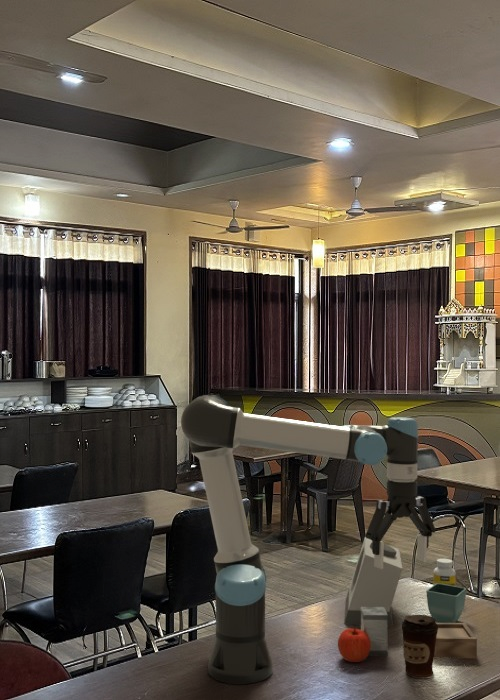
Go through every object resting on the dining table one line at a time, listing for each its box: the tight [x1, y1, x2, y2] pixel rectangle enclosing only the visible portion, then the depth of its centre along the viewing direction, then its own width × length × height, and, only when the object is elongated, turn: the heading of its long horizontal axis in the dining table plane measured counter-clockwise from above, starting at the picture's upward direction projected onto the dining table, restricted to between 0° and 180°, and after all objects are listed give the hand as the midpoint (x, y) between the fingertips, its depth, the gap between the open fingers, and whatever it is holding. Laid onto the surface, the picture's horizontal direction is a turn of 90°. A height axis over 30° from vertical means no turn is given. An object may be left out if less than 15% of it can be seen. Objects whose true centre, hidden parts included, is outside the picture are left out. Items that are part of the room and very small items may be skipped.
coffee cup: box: [401, 614, 438, 679], centre depth 183 cm, size 9×8×13 cm
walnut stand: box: [434, 622, 478, 659], centre depth 198 cm, size 11×11×5 cm
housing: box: [360, 607, 389, 656], centre depth 197 cm, size 6×6×10 cm
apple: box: [337, 626, 371, 663], centre depth 191 cm, size 8×8×8 cm
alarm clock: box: [343, 536, 403, 627], centre depth 225 cm, size 20×16×20 cm
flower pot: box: [426, 583, 467, 623], centre depth 218 cm, size 9×9×9 cm
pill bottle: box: [432, 558, 457, 586], centre depth 237 cm, size 6×6×12 cm
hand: (400, 564), depth 197 cm, fingers open, 13 cm apart
